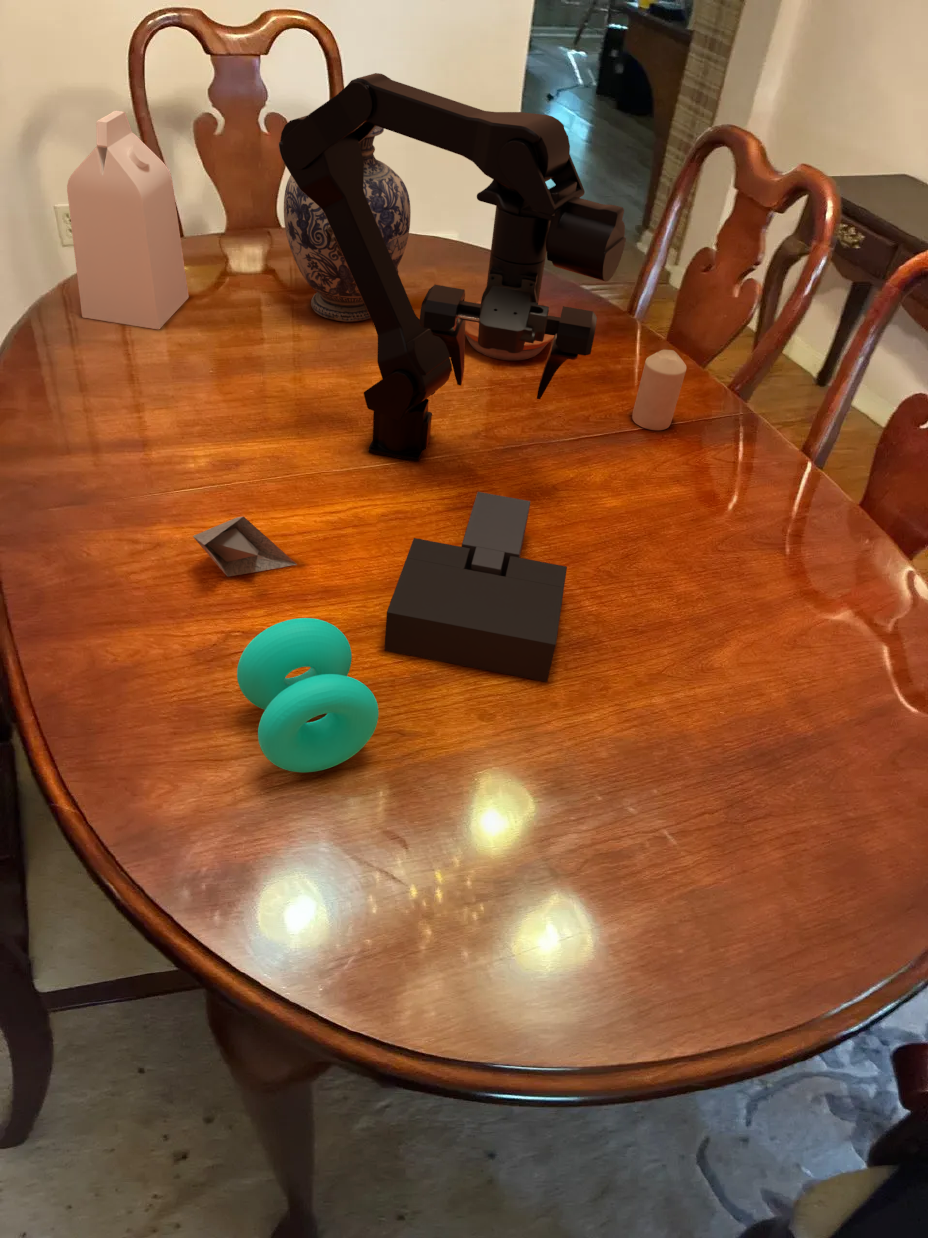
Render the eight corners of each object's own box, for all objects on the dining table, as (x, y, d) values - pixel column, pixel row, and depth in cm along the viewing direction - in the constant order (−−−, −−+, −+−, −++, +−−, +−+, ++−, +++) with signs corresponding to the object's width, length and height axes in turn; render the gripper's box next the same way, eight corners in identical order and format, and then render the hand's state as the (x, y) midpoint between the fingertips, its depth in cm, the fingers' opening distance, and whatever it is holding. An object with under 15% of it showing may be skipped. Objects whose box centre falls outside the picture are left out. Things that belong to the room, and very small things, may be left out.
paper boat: (269, 519, 101) (324, 538, 96) (254, 576, 102) (308, 598, 96) (175, 498, 92) (231, 519, 86) (160, 561, 92) (214, 585, 87)
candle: (669, 433, 127) (689, 366, 120) (630, 426, 127) (647, 358, 120) (671, 414, 131) (689, 348, 124) (632, 407, 131) (649, 341, 125)
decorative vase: (400, 344, 139) (412, 141, 120) (275, 331, 138) (268, 125, 119) (408, 287, 155) (420, 101, 136) (296, 275, 153) (293, 85, 135)
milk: (116, 285, 144) (88, 99, 126) (188, 297, 143) (170, 111, 126) (82, 317, 135) (47, 120, 117) (159, 329, 134) (135, 134, 117)
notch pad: (384, 650, 89) (386, 612, 86) (410, 575, 98) (413, 537, 95) (547, 682, 88) (555, 644, 85) (558, 603, 97) (567, 566, 94)
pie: (571, 343, 145) (577, 313, 141) (523, 378, 134) (528, 346, 131) (488, 313, 150) (492, 282, 147) (435, 344, 140) (438, 312, 136)
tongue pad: (452, 598, 96) (456, 561, 93) (472, 527, 106) (477, 491, 103) (508, 609, 96) (515, 572, 92) (524, 536, 106) (530, 500, 102)
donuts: (265, 792, 76) (260, 710, 69) (237, 706, 82) (229, 624, 76) (380, 761, 79) (386, 680, 73) (344, 681, 86) (346, 600, 79)
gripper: (413, 267, 90) (404, 409, 100) (603, 298, 89) (573, 440, 99) (435, 229, 98) (424, 364, 109) (609, 257, 97) (581, 392, 107)
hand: (499, 390), depth 106 cm, fingers open, 9 cm apart
